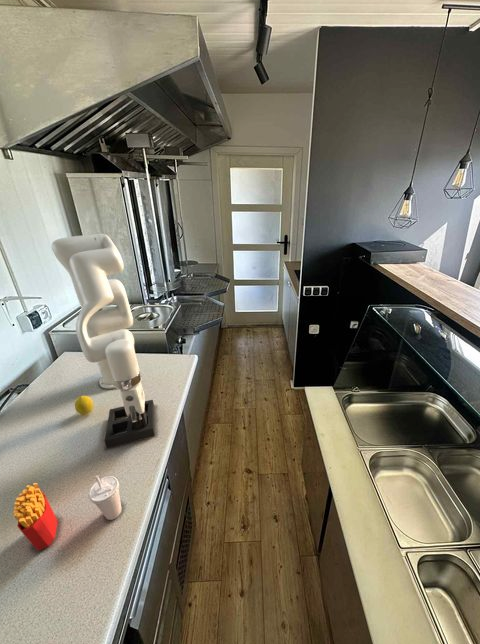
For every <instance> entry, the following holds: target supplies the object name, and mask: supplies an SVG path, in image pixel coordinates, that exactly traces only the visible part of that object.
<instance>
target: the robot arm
mask: <svg viewBox="0 0 480 644" xmlns="http://www.w3.org/2000/svg"><path fill="white" fill-rule="evenodd" d="M51 251H52V253H53V255H54V257H55V258H56V260H57V261H58V262H59V263H60V264H61V266H62V267H63V268H64V269H66V271H67V273H68V274H69V277H70V280H71V282H72V285H73V287H74V288H73V289H74V291H75V294H76V297H77V300H78V302H79V304H80V306H81V307H82V308H81V310H80V312H79V313H78V316H77V318H76V323H75V333H76V336H77V340H78V343H79V346H80V349H81V352H82V354H83V356H84V358H85V360H87V361H88V362H89V363H97V366H98V369H99V372H100V375H101V377H100V378H99V381H98V383H99V385H100V387H101V388H103V389H106V390H112V389H113V390H114V389H117V390H118V391H120V395H121V396H120V397H121V400H122V403H123V406H124V407H125V411H126V414H127V416H126V417H128V416H129V417H130V414H131V419H132V423H133V426H134V429H135V430H136V429H140V428H144V427H145V424H144V420H143V417H141V414H143V413H144V408H145V401H146V399H145V398H146V396H145V392H144V388H143V385H142V380H143V379H142V374H141V370H140V366H139V362H138V359H137V354H136V349H135V337H134V334H133V333H132V332H131V331H130V330H129V328H131V327H133V325H134V317H133V314H132V310H131V306H130V302H129V298H128V293H127V292H126V291H127V290H126V288H125V286H124V284H123V283H122V282H121V280H119V279H116V278H111V279H108V277H107V276H111V275H112V276H113V275H118V274H121V273H122V272H123V271H124V269H125V268H124V267H125V265H124V260H123V257H122V256H121V255H122V254H121V253H120V251H119V249H118V248H117V246H116V245H115V243H114V242H113V240H112V239H111V237H109V235H107V234H105V233H94V234H85V235H75V236H73V235H72V236H67V237H61V238H57V239H55V240H53V241H52V243H51ZM113 305H115V306H113ZM109 306H113V307H109ZM105 307H108V308H105ZM103 308H104V309H103ZM136 414H138V415H139V416H136Z"/></svg>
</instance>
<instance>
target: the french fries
mask: <svg viewBox="0 0 480 644" xmlns="http://www.w3.org/2000/svg"><path fill="white" fill-rule="evenodd" d="M13 517H14V518H15V519H16V521H17V528H18V529H19V530H20V532H21V533H22V535H24V536H25V537H26V539H27V540H28V541H29V543H30V544H31V545H32V546H33V547H34V549H36V550H37V551H40V550H44V549H46V548H48V547H50V545H51V544H52V543H53V541H54V540H55V538H56V534H57V528H58V519H57V517H56V514H55V512H54V511H53V508H52V506H51V505H50V502H49V500H48V498H47V496H46V494H45V493H44V492H43V491H42V490H41V489H40V487H39V484H38V483H37V482H33V486H32V485H30V484H27V485H26V486H25V489H23V490H22V492H21V493H19V497H18V496H17V497H16V499H15V502H14V508H13Z"/></svg>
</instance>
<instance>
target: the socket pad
mask: <svg viewBox="0 0 480 644" xmlns="http://www.w3.org/2000/svg"><path fill="white" fill-rule="evenodd" d="M144 409H145V412H146V416H147V426H146V427H144V428H140V429H136V430H134V429H133V425H132V422H131V419H130V417H129V416H127V414H126V411H125V407H124V405H122V406H118V407H114V408H110V409H109V412H108V417H107V422H106V428H105V434H104V440H103V443H104V444H105V447H106V449H112V448H116V447H119V446H122V445H127V444H130V443H133V442H137V441H141V440H145V439H149V438H153V437H156V427H155V426H156V424H155V423H156V422H155V421H156V419H155V417H156V415H155V414H156V413H155V404H154V399H150V400H145V408H144ZM125 430H126V431H125ZM121 431H123V432H121ZM117 432H119V433H117Z"/></svg>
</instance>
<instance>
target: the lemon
mask: <svg viewBox="0 0 480 644" xmlns="http://www.w3.org/2000/svg"><path fill="white" fill-rule="evenodd" d="M74 409H75V411H76V413H78V414H79V415H82V416H86V415H88V414H90V413H91V412H92V411H93V409H94V401H93V400H92V398H91V397H90V396H88V395H81V396H79V397H77V398H76V400H75V401H74Z"/></svg>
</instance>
